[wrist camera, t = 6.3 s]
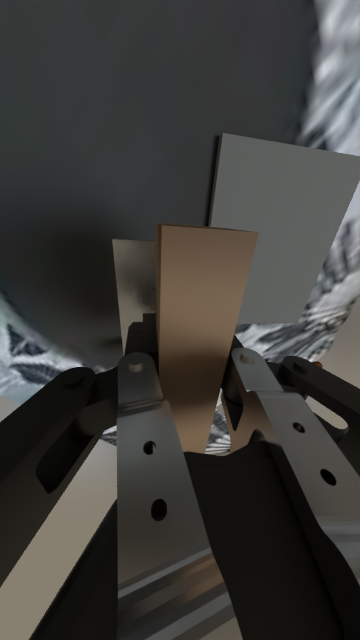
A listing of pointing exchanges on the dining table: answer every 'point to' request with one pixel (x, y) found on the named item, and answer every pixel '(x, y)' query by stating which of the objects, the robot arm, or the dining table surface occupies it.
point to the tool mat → (281, 217)
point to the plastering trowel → (187, 312)
